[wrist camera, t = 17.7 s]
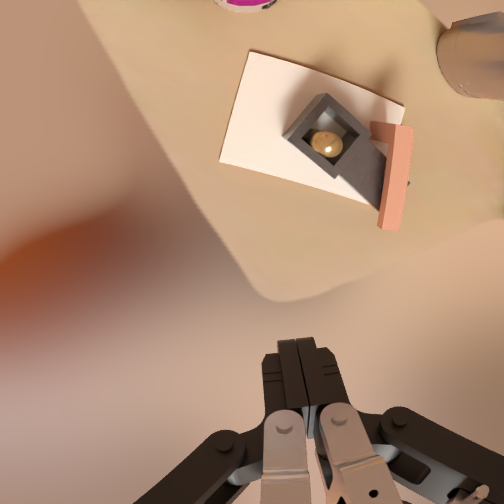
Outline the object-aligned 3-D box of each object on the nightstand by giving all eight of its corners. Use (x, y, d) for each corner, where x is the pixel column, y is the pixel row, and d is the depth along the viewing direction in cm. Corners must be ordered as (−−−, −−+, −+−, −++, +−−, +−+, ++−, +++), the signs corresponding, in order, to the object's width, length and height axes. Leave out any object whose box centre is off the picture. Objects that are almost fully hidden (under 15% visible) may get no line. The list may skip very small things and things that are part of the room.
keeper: (368, 120, 30) (395, 124, 24) (385, 123, 30) (414, 127, 24) (359, 208, 34) (381, 229, 28) (374, 209, 34) (399, 230, 28)
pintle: (304, 125, 30) (323, 129, 23) (322, 131, 30) (345, 137, 23) (298, 143, 31) (315, 152, 24) (316, 148, 31) (338, 160, 24)
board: (249, 52, 27) (249, 51, 26) (403, 108, 29) (405, 108, 29) (219, 161, 32) (219, 161, 31) (371, 204, 34) (372, 205, 34)
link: (281, 136, 30) (287, 139, 27) (316, 94, 28) (326, 92, 25) (365, 208, 34) (378, 220, 30) (397, 170, 32) (413, 178, 28)
